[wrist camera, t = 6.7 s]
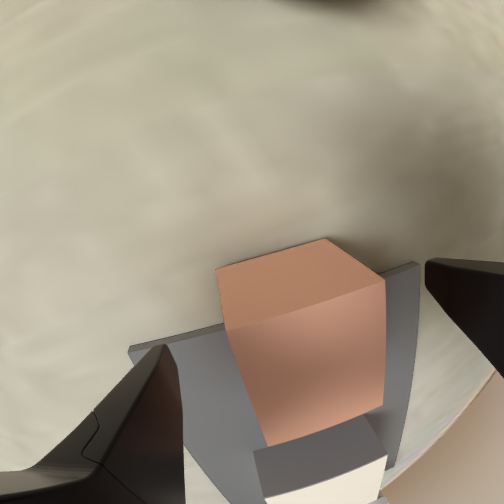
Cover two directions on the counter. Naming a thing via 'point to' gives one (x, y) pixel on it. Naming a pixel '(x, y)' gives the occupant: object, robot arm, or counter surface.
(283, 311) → the stub
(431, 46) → the counter surface
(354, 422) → the grey flat tray
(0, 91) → the counter surface
